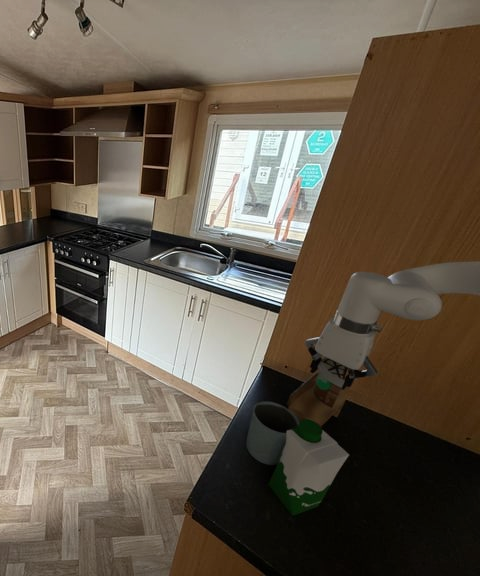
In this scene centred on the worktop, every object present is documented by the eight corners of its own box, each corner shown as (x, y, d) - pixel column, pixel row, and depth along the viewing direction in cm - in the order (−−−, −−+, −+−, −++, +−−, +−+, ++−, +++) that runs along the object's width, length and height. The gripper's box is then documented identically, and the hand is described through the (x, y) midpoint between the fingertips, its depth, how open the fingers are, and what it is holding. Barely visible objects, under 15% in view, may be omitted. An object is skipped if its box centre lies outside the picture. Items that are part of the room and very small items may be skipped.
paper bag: (338, 415, 91) (350, 390, 87) (313, 443, 83) (325, 416, 78) (306, 397, 98) (316, 372, 93) (280, 421, 89) (289, 395, 85)
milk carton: (291, 471, 76) (317, 413, 67) (325, 510, 68) (359, 450, 59) (261, 481, 74) (284, 422, 65) (292, 522, 66) (323, 461, 57)
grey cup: (237, 450, 81) (247, 418, 75) (249, 426, 88) (259, 394, 82) (280, 476, 75) (295, 442, 70) (290, 447, 82) (303, 414, 76)
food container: (314, 375, 91) (325, 348, 87) (339, 386, 88) (352, 357, 83) (303, 398, 83) (315, 369, 79) (330, 411, 80) (344, 381, 75)
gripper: (404, 334, 71) (373, 392, 79) (320, 303, 84) (301, 356, 92) (393, 345, 67) (362, 405, 75) (307, 311, 80) (288, 366, 88)
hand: (328, 378), depth 83 cm, fingers closed on food container, 6 cm apart
